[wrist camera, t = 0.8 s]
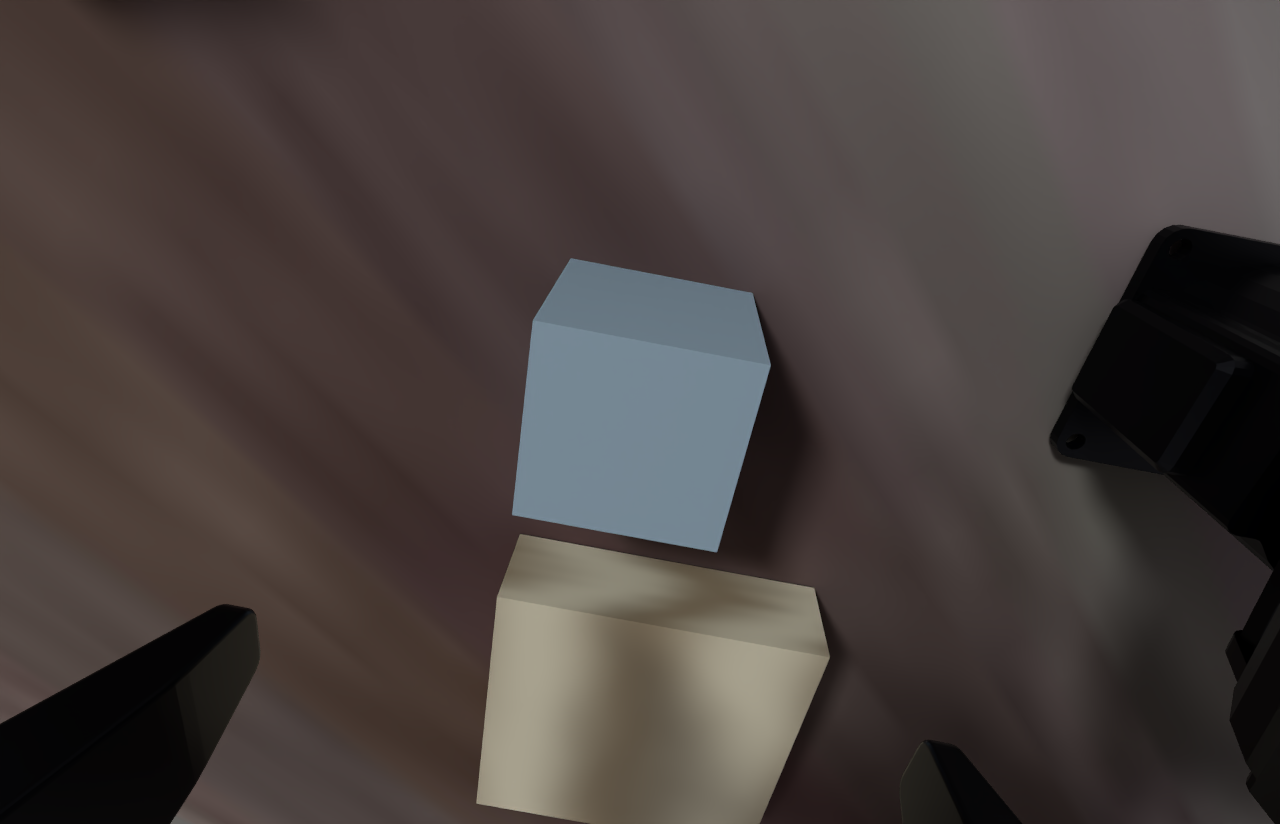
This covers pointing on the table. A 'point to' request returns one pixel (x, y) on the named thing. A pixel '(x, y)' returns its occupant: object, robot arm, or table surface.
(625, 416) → the slate block
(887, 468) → the table surface
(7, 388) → the table surface
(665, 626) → the maple base
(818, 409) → the table surface
